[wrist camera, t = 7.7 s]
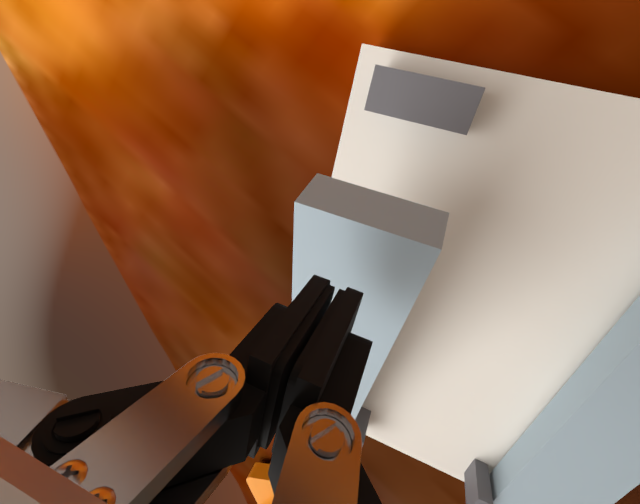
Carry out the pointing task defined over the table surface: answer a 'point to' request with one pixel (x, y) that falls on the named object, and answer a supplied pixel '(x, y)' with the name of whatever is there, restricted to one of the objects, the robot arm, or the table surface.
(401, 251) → the lever
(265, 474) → the bracket
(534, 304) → the board
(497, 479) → the lever
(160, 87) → the table surface
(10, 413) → the robot arm
